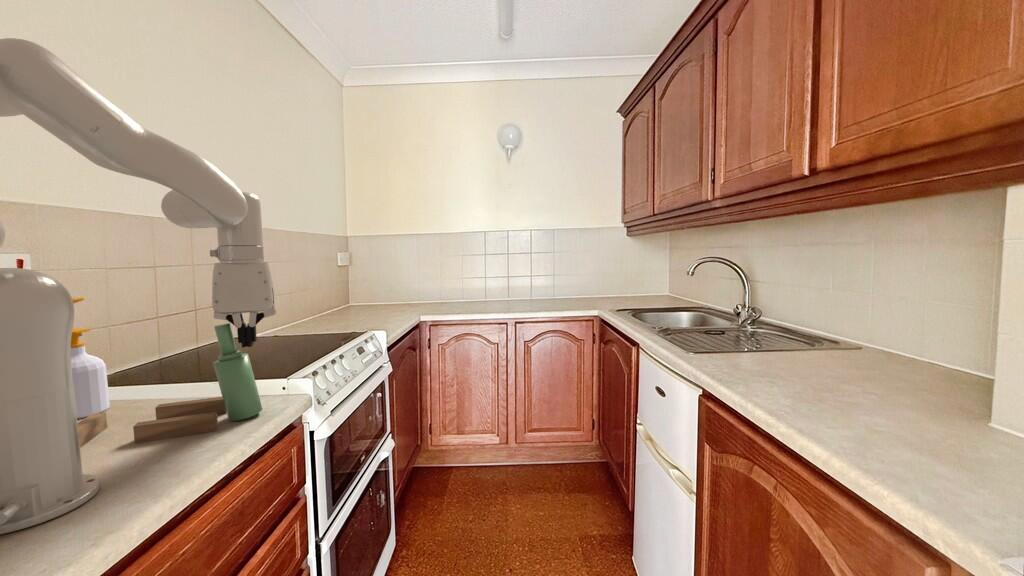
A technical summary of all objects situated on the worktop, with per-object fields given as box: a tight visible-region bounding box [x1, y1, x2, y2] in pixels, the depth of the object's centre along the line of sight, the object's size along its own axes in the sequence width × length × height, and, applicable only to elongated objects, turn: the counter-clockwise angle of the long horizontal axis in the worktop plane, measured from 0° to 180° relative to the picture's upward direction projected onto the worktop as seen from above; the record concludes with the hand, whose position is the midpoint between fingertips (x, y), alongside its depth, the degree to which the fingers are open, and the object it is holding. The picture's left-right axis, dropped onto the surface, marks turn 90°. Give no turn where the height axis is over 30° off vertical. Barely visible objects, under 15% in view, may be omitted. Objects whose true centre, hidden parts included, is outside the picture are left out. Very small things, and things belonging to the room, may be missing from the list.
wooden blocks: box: [77, 396, 227, 449], centre depth 80 cm, size 12×22×3 cm, turn 113°
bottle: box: [212, 322, 263, 422], centre depth 85 cm, size 6×6×19 cm
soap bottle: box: [71, 297, 111, 420], centre depth 88 cm, size 9×9×25 cm
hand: (247, 345), depth 86 cm, fingers closed
